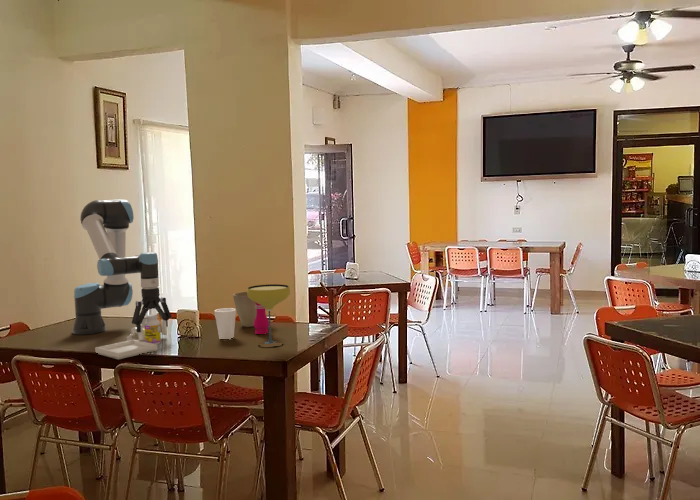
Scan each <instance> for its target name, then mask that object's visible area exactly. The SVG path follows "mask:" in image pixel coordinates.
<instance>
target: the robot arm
mask: <svg viewBox="0 0 700 500" xmlns="http://www.w3.org/2000/svg"><path fill="white" fill-rule="evenodd" d="M133 222H134V211H133V208H132V205H131V203H130V201H128V200H127V199H118V198H117V199H103V200H102V199H96V200H92V201H90V202H88V203H87V204H86V205H85V206H84V207H83V209H82V211H81V212H80V224H81V226H82V228H83V229H84V230H86V231H87V234H88V236H89V238H90V239H89V240H91V243H92V245H93V247H94V251H95V252H96V254H97V257H98V260H97V262H96V263H97V265H96V269H97V272H98V274H99V275H100V276H101V277H105V279H103V284H100V282H90V283H85V284H81V285H78V286H76V287H75V288H74V291H73V292H74V293H73V298H74V311H75V319H74V321H73V322H74V323H73V326H72V334H73V335H81V336H82V335H94V334H95V335H96V334H99V333H103V332H105V331H106V330H107V326H106V323H105V321H104V318H103V315H102V309H110V308H111V309H112V308H121V307H124V306H125V307H126V306H128V305H130V304H131V302H132V300H133V292H134V291H133V285H132V284H131V282H129V279H128V278H127V277H126V275H130V274H132V275H133V274H140V289H141V291H140V292H141V298H142V299H141V300H140V301H139V300H138V301H137V300H136V301H135V309H134V312H133V316H132V321H131V324H133V325H135V327H136V330H137V332H138V338H139V339H140V340H144V338H143V328H144V324H142V323H143V321H144V319H145V317H146V316H147V313H148V312H149V310H152V309H153V310H154V309H155V311H156V312H157V313H159V314H160V316H161V317H162V319H163V320H161V326H162V332H161V336H162V335H164V336H167V335H168V334H167V332H168V331H167V328H168V326H169V323H168V322H169V320H170V319H171V318H172V314H171V312H170V309H169V306H168V305H167V304H168V303H167V298H166V297H160V288H159V286H160V282H159V281H160V280H159V279H160V278H159V256H158V254H157V253H156V252H154V251H153V252H151V251H147V252H141V253H140V254H139V255H134V256H126V243H127V242H126V241H127V240H126V238H127V237H126V231H127V230H128V229H129V228H130V224H132V223H133ZM160 304H161V305H160ZM166 327H167V328H166Z"/></svg>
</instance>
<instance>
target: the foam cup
mask: <svg viewBox="0 0 700 500" xmlns="http://www.w3.org/2000/svg"><path fill="white" fill-rule="evenodd" d="M236 315H237V310H236V308H233V307H225V308H224V307H223V308H217V309H214V316H215V317H214V318H215V323H216V328H217V333H218V338H219V340H220V339H229V340H232V339H231V338H233V337H234V336H235V326H236ZM233 339H234V338H233Z"/></svg>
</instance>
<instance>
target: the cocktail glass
mask: <svg viewBox="0 0 700 500" xmlns="http://www.w3.org/2000/svg"><path fill="white" fill-rule="evenodd" d="M246 292H247V295H248V298H249V299H251V300H252V301H254V302H256V303H258V304H260V305H262V306H264V307H265V311H268V320H269V327H268V331H269V333H268V340H267V341H264V342H265V344H271V343H275V342H276V341H275V342H274V340H273V337H272V325H271V324H272V323H271V311H272V310H273V309H274V308H275V306H277V305H278V304H279V303H282V302H283V301H285V300H286V299H288V297H290V294H291V289H290V286H289V285H287V284H278V283H277V284H276V283H275V284H271V283H270V284H259V285H252V286H248V287H247V290H246Z"/></svg>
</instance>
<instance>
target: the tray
mask: <svg viewBox="0 0 700 500" xmlns="http://www.w3.org/2000/svg"><path fill="white" fill-rule="evenodd" d="M94 350H95V352H96V353H98V354H97V355H101V356H104V357H107V358H112V359H115V360H123V359H127V358H130V357H134V356H139V354H140V355H143V354H142V353H145V354H148V353H147V352H149V353H152V352H157V351H158V345H156V344H152V343H147V342H143V341H138V340H129V341H119V342H115V343H111V344H106V345H100V346H96V347H94ZM96 353H95V354H96Z"/></svg>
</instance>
